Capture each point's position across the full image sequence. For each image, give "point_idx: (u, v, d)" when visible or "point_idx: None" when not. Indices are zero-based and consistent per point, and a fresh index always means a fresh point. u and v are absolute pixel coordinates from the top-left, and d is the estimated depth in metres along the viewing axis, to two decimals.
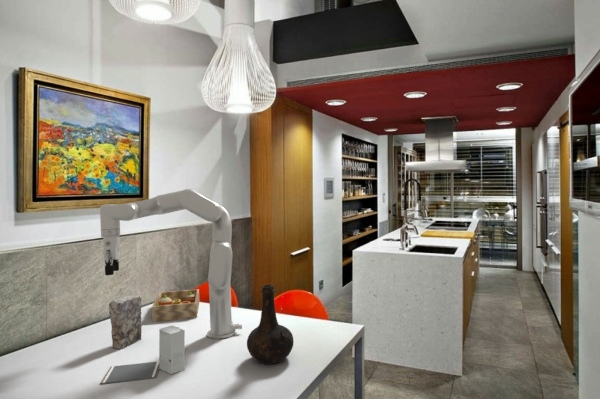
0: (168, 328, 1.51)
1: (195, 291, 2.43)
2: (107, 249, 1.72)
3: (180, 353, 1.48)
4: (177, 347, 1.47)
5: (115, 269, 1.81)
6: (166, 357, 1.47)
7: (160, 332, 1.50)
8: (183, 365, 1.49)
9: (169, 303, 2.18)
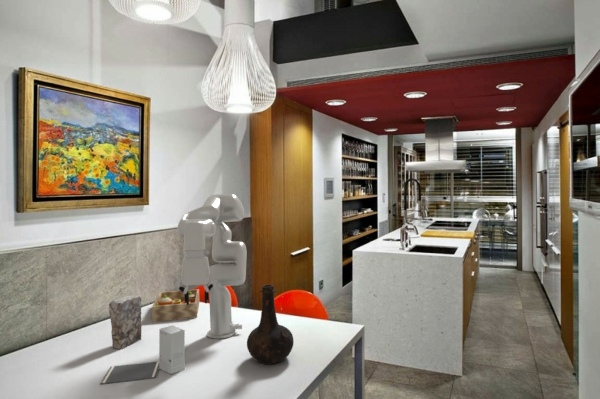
0: (168, 328, 1.51)
1: (195, 291, 2.43)
2: (209, 270, 1.52)
3: (180, 353, 1.48)
4: (177, 347, 1.47)
5: None
6: (166, 357, 1.48)
7: (160, 332, 1.50)
8: (183, 365, 1.49)
9: (169, 303, 2.18)
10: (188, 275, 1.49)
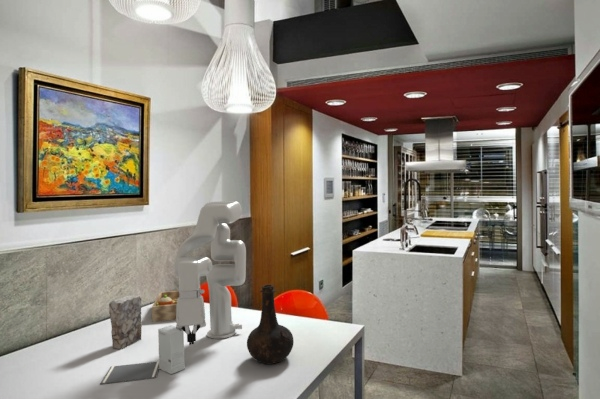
0: (166, 328, 1.51)
1: None
2: (204, 310, 1.52)
3: (179, 353, 1.48)
4: (176, 347, 1.47)
5: (191, 341, 1.52)
6: (166, 357, 1.47)
7: (159, 332, 1.50)
8: (183, 365, 1.49)
9: (169, 303, 2.18)
10: (183, 316, 1.49)
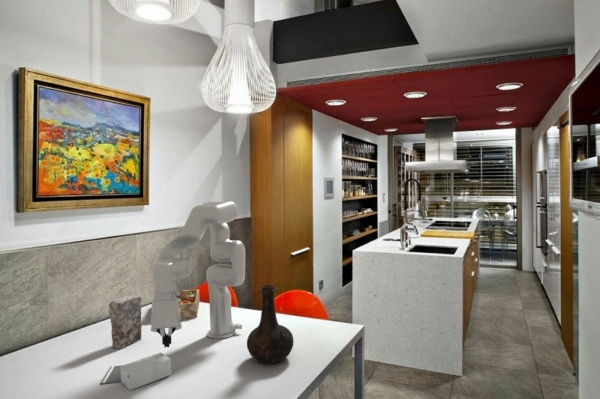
0: (122, 377, 1.39)
1: (195, 291, 2.43)
2: (179, 312, 1.50)
3: (153, 371, 1.40)
4: (146, 377, 1.38)
5: None
6: None
7: None
8: (166, 361, 1.43)
9: None
10: (157, 318, 1.47)
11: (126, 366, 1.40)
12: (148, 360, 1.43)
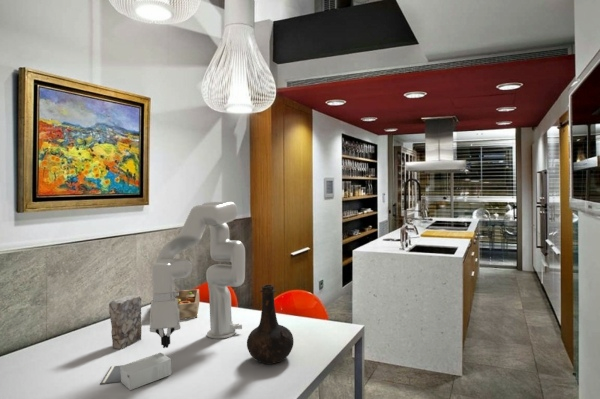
0: (122, 377, 1.39)
1: (195, 291, 2.43)
2: (178, 312, 1.50)
3: (153, 371, 1.40)
4: (146, 377, 1.38)
5: None
6: None
7: None
8: (166, 361, 1.43)
9: None
10: (156, 318, 1.47)
11: (126, 366, 1.40)
12: (148, 360, 1.43)
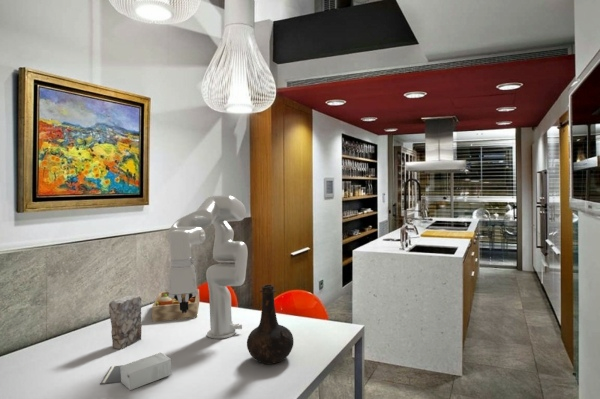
0: (122, 377, 1.39)
1: None
2: (196, 279, 1.53)
3: (153, 371, 1.40)
4: (146, 377, 1.38)
5: None
6: None
7: None
8: (166, 361, 1.43)
9: (169, 302, 2.18)
10: (175, 284, 1.50)
11: (126, 366, 1.40)
12: (148, 360, 1.43)
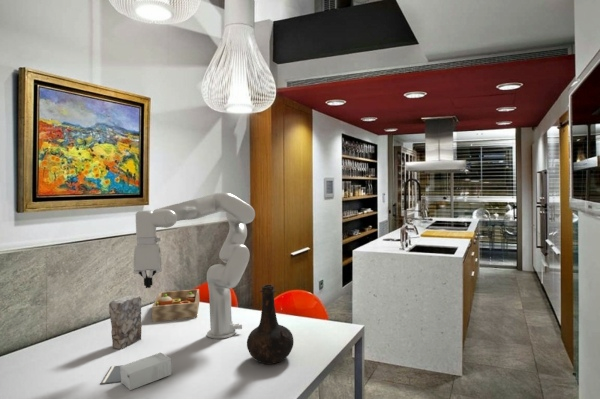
0: (122, 377, 1.39)
1: (195, 291, 2.43)
2: (160, 256, 1.65)
3: (153, 371, 1.40)
4: (146, 377, 1.38)
5: None
6: None
7: None
8: (166, 361, 1.43)
9: (169, 302, 2.18)
10: (139, 261, 1.61)
11: (126, 366, 1.40)
12: (148, 360, 1.43)
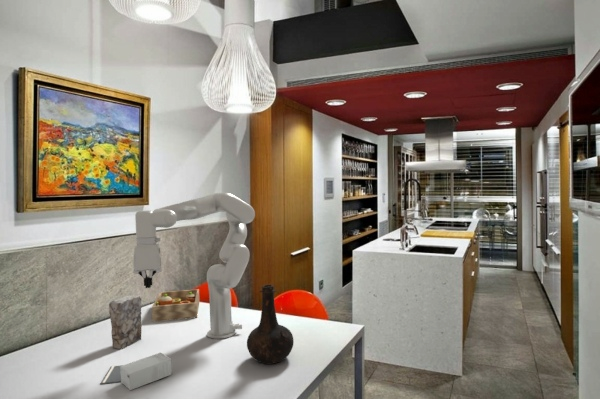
0: (122, 377, 1.39)
1: (195, 291, 2.43)
2: (160, 256, 1.65)
3: (153, 371, 1.40)
4: (146, 377, 1.38)
5: None
6: None
7: None
8: (166, 361, 1.43)
9: (169, 302, 2.18)
10: (139, 261, 1.62)
11: (126, 366, 1.40)
12: (148, 360, 1.43)
